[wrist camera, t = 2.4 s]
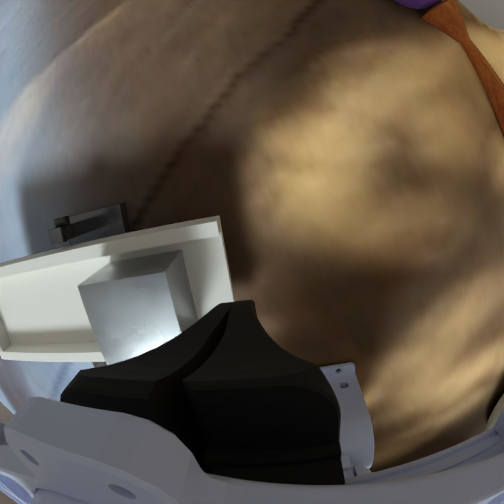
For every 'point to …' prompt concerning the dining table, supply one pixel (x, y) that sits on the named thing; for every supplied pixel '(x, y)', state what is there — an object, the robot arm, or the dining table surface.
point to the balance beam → (82, 267)
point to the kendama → (463, 45)
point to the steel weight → (138, 304)
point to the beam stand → (91, 229)
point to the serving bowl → (495, 413)
